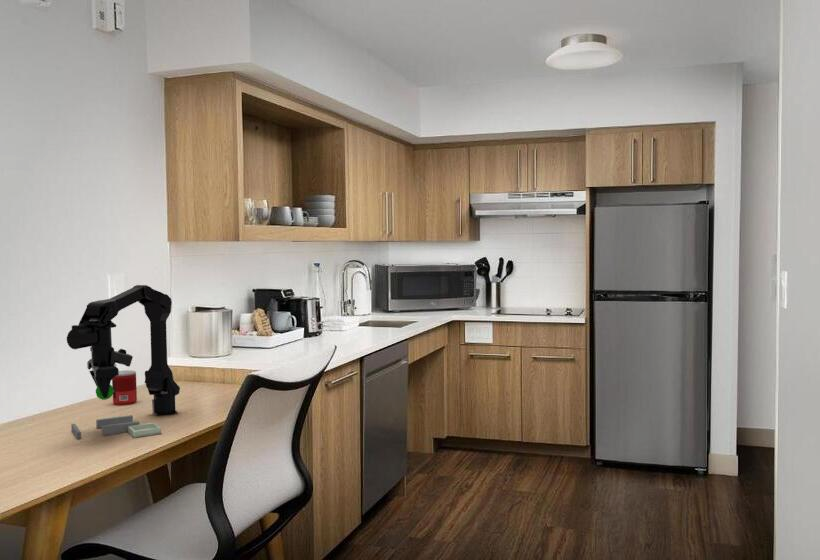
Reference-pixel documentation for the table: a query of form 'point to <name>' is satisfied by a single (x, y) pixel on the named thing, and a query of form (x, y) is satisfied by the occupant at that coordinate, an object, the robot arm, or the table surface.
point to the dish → (144, 430)
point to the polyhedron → (101, 394)
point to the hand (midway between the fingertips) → (103, 395)
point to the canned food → (124, 388)
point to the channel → (110, 425)
